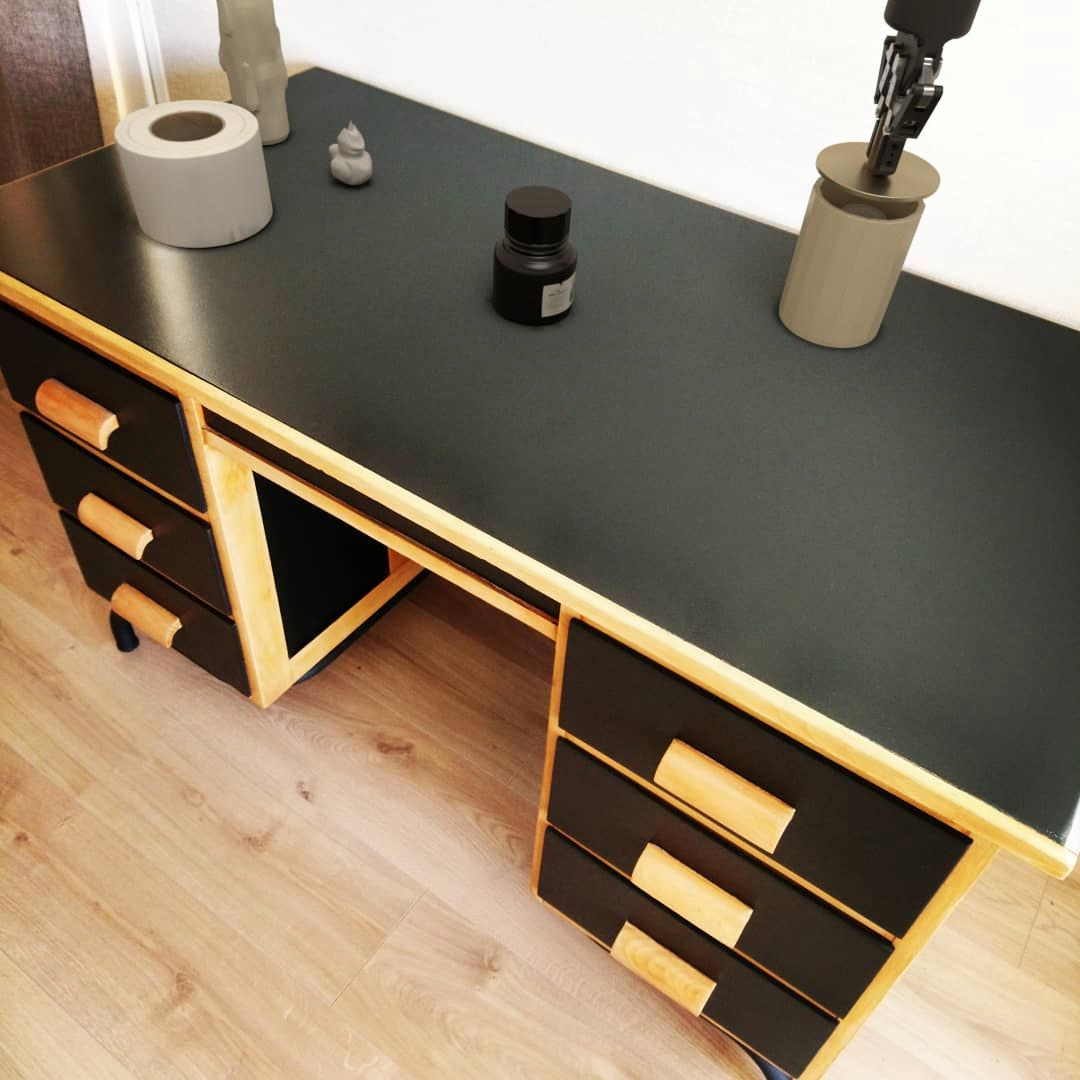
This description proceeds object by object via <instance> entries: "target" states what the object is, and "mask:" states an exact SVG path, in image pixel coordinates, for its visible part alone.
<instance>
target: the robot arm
mask: <svg viewBox="0 0 1080 1080" xmlns="http://www.w3.org/2000/svg"><path fill="white" fill-rule="evenodd" d="M981 2H982V0H887V1H886V4H885V8H884V11H883V20H884V22H885V23H886V24H887V25H888V27H889V28H891V29H893V30H894V31H896V32H897V33H896V35H890V34H889V35H888V34H887V35H886V36H885V39H884V41H883V48H882V54H881V59H880V65H879V70H878V75H877V81H876V87H875V92H874V96H873V104H874V105H877V106H876V109H875V111H874V115H875V116H874V117H875V119H876V120H875V123H874V127H873V130H872V132H871V136H870V139H869V145H868V148H867V152H866V156H867V158H869V155H870V151H871V148H872V145H873V142H874V139H875V136H876V133H877V129H878V126H879V123H880V120H881V117H882V114H883V113H885V112H888V114H887V118H886V121H885V125H884V127H883V133H882V136H881V139H880V142H879V145H878V148H877V151H876V154H875V158H874V161H873V164H872V170H873V173H874V174H878V175H893V174H894V173H895V172H896V169H897V166H898V163H899V160H900V157H901V155H902V152H903V150H905V145H906V143H907V139H912V140H917V139H918V138H919V137H920V135H921V133H922V132H923V130H924V128H925V126H926V125H927V123H928V121H929V120H930V118H931V116H932V114H933V113H934V111H935V109H936V108H937V106H938V104H939V102H940V101H941V99H942V97H943V95H944V85H942V84H941V85H940V84H934V83H935V81H936V80H937V79H938V78H939V76H940V74H941V73H940V72H941V70H942V67H943V61H944V58H943V56H942V55H943V52H944V46H945V45H946V44H947V43H949V42H950V41H953V40H958V39H961V38H963V37H965V36H967V35H968V34H969V32H970V31H971V29H972V26H973V24H974V21H975V19H976V16H977V13H978V11H979V7H980V4H981ZM906 121H907V123H904V122H906Z"/></svg>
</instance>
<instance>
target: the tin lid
mask: <svg viewBox="0 0 1080 1080" xmlns="http://www.w3.org/2000/svg"><path fill="white" fill-rule="evenodd" d="M887 114H888V112H885V113H883V114H882V117H881V120H880V123H879V126H878V129H877V133H876V136H875V139H874V142H873V145H872V148H871V151H870V155H869V158H867V156H866V152H867V148H868V145H869V142H870V141H869V142H868V141H846V142H839V143H834V144H831V145H828V146H826V147H825V148H823V149H821V150H820V151H819V152H818V154H817V156H816V158H815V169H816V171H817V173H818V174H819V176H820V177H821V176H822V177H823V178H824V179H825V180H826V181H827V182H829V183H830V184H832V185H833V186H835V187H837V188H839V189H841V190H843V191H845V192H847V193H850V194H853V195H856V196H859V197H863V198H867V199H871V200H877V201H884V202H913V201H919V200H922V199H923V200H925V199H928V198H930V197H931V196H934V194H935V193H937V191H938V189H939V188H940V186H941V175H940V173H939V171H938V170H937V169H936V167H934V165H933V164H931V163H930V162H928V161H927V160H926V159H924V158H923V157H921V156H919V155H917V154H915V153H912V152H910V151H907V150H905V149H903V152H902V155H901V157H900V160H899V163H898V166H897V169H896V172H895V173H894V174H893V175H878V174H874V173H873V170H872V164H873V161H874V158H875V154H876V151H877V148H878V145H879V142H880V139H881V136H882V133H883V127H884V125H885V121H886V118H887ZM904 123H907V121H906V122H904Z"/></svg>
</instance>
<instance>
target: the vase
mask: <svg viewBox="0 0 1080 1080" xmlns="http://www.w3.org/2000/svg"><path fill="white" fill-rule="evenodd" d="M215 1H216V8H217V17H218V18H217V19H218V20H217V21H218V32H219V45H218V54H217V55H218V61H219V62H218V63H219V65H220V67H221V69H222V71H223V72H224V73H226V76H227V77H226V78H227V82H228V87H229V93H230V98H231V104H233V105H236V106H239V107H242V108H244V109H246V110H247V111H249V112H250V113H252V114H253V115H254V116H255V118H256V119H257V121H258V125H259V131H260V137H261V143H262V146H271V145H276V144H279V143H282V142H284V141H285V140H287V138H288V137H289V134H290V123H289V116H288V109H287V101H286V89H287V88H288V87H289V77H288V71H287V67H286V63H285V62H286V61H285V59H284V55H283V49H282V42H281V32H280V29H279V27H278V26H277V21H276V15H275V5H274V0H215Z"/></svg>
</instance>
